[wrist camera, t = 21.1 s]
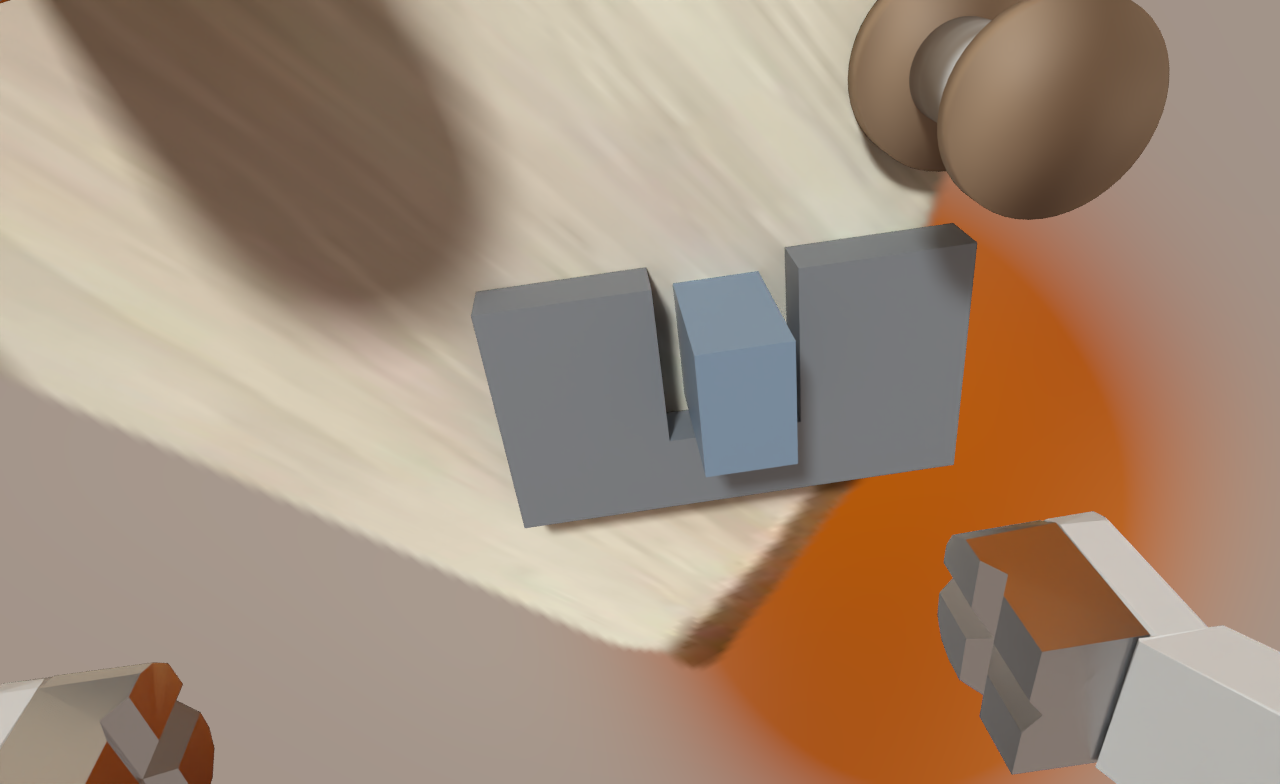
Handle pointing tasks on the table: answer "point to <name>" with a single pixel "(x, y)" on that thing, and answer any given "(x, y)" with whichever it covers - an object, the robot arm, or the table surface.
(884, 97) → the bobbin post
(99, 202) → the table surface
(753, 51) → the table surface
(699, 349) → the blue-gray rectangular block
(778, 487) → the notched board
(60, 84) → the table surface
